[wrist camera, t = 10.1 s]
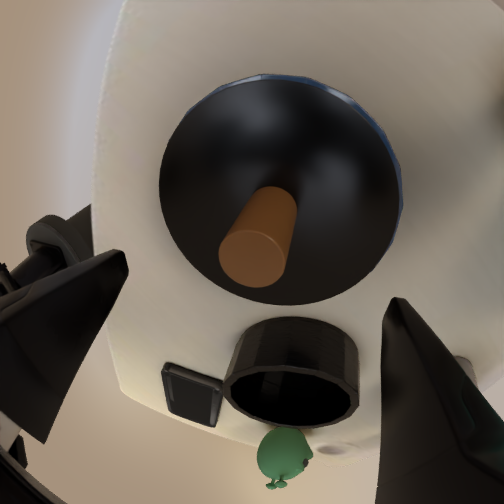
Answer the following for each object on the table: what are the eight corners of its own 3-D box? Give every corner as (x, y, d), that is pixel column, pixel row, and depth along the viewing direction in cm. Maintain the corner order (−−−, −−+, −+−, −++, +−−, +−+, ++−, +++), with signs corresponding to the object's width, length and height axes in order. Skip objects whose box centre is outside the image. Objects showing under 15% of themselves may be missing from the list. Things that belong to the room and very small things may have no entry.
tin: (237, 378, 29) (225, 415, 25) (237, 305, 22) (219, 352, 18) (339, 394, 27) (336, 433, 23) (375, 327, 20) (380, 377, 16)
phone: (223, 390, 29) (214, 428, 37) (226, 382, 30) (216, 423, 38) (159, 367, 29) (168, 412, 38) (163, 360, 30) (170, 406, 39)
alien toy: (305, 439, 36) (294, 495, 28) (259, 429, 36) (243, 485, 28) (325, 426, 32) (315, 491, 24) (272, 414, 32) (255, 481, 24)
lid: (178, 275, 19) (138, 334, 14) (163, 83, 12) (88, 90, 7) (362, 307, 17) (367, 380, 12) (413, 103, 10) (469, 114, 5)
